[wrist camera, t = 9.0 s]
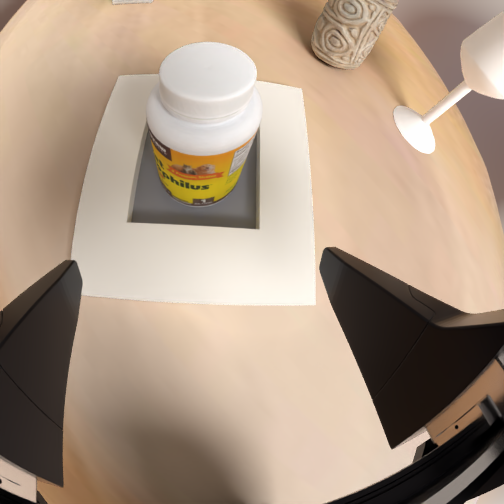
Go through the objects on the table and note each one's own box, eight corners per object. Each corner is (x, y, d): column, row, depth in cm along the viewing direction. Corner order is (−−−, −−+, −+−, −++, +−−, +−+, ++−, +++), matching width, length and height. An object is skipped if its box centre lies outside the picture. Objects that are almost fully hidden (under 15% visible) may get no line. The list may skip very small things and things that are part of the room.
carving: (342, 43, 26) (382, -21, 15) (364, 82, 25) (419, 13, 14) (297, 35, 25) (332, -40, 13) (316, 73, 24) (366, -12, 12)
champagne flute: (412, 156, 24) (574, 35, 1) (383, 104, 25) (512, -30, 2) (442, 151, 26) (577, 57, 3) (416, 106, 27) (531, 0, 3)
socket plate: (306, 305, 19) (315, 305, 17) (77, 294, 16) (67, 293, 14) (296, 98, 22) (301, 88, 21) (121, 86, 19) (118, 75, 18)
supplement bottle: (144, 183, 18) (110, 80, 8) (192, 129, 19) (199, 20, 10) (208, 226, 18) (223, 142, 8) (252, 167, 20) (299, 67, 10)
